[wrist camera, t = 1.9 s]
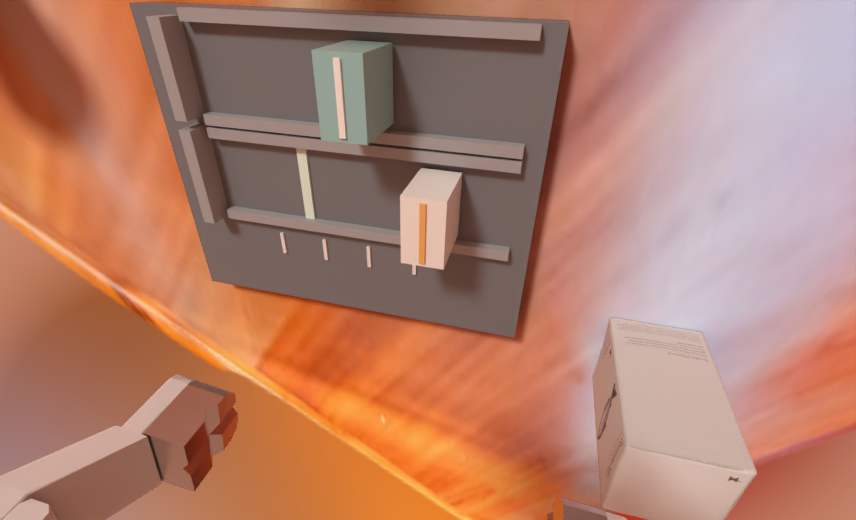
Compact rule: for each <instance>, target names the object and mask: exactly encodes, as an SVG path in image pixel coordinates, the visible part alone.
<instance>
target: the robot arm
mask: <svg viewBox="0 0 856 520" xmlns="http://www.w3.org/2000/svg"><path fill="white" fill-rule="evenodd" d="M235 402H236V398H235V393H233V392H230V391H227V390H224V389H220V388H217V387H214V386H211V385H208V384H205V383H202V382H199V381H197V380H194V379H191V378H188V377H184V376H181V375H178V374H177V375H175V376H173V377H171V378H170V379H168V380H167V381H166V382H165V383H164V385H162V386H161V388H159V389H158V391H157V392H156V393H155V394H154V395H153V396H152V397H151V398H150V399H149V400H148V401H147V402H146V403H145V404H144V405H143V406H142V407H141V408H140V409H139V410H138V411H137V412H136V413H135V414H134V415H133V416H132V417H131V418H130V419H129V420H128V421H127V422H126V423H125V424H124V425H123V426H122V427H120V426H113V427H111V428H109V429H106V430H104V431H102V432H100V433H98V434H95V435H93V436H91V437H88V438H86V439H84V440H81V441H79V442H77V443H75V444H72V445H70V446H68V447H65V448H63V449H61V450H59V451H56V452H54V453H52V454H50V455H47V456H45V457H43V458H40V459H38V460H36V461H34V462H31V463H29V464H27V465H24V466H22V467H20V468H18V469H15V470H13V471H11V472H8V473H6V474H4V475H2V476H0V520H106V519H107V518H109V517H110V516H112V515H113V514H115V513H117V512H118V511H120V510H121V509H123V508H124V507H126V506H127V505H129V504H131V503H132V502H134V501H135V500H137V499H138V498H140V497H142V496H143V495H145V494H146V493H148V492H149V491H151V490H152V489H154V488H155V487H157V486H159V485H160V484H161V483H162V482H161V481H163V482H166V483H169V484H172V485H175V486H179V487H182V488H185V489H188V490H191V491H195V490H196V488H197V487H198V486H199V485H200V483H201V482H202V480H203V479H204V478H205V476H206V475H207V473H208V472H209V471H210V469H211V468H212V465H213V456H214V455H216V454H218V453H219V452H221V451H223V450H224V449H225V448H226V447H227V445H228V444H229V442H230V441H231V439H232V437H233V435H234V432H235V430H236V428H237V423H238V413H237V412H236V411H235V409H234V408H233V405H234V404H235ZM544 520H627V519H626V518H625V517H623V516H619V515H616V514H613V513H610V512H606V511H603V510H602V509H598V508H595V507H592V506H588V505H585V504H582V503H578V502H575V501H572V500H568V499H565V498H562V497H559V498H557V499H556V501H555V502H554V504H553V512H552V513H549V514H547V515H546V517H545V519H544Z"/></svg>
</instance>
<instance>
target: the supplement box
mask: <svg viewBox="0 0 856 520" xmlns="http://www.w3.org/2000/svg"><path fill="white" fill-rule="evenodd" d="M593 391H594V408H595V423H596V438H597V451H598V463H599V477H600V491H601V507H602V508H603V509H606V510H610V511H614V512H618V513H622V514H626V515H630V516H635V517H639V518H643V519H647V520H724V519H725V518H726V516H727V515H728V513H729V512H730V511H731V509H732V508H733V507H734V506H735V504H736V503H737V501H738V499H739V497H740V496H741V495H742V493H743V492H744V491H745V489H746V488H747V486H748V485H749V484H750V482H751V481H752V479H753V478H754V477H755V476H756V474H757V471H756V469H755V466H754V463H753V461H752V458H751V456H750V453H749V450H748V448H747V445H746V443H745V440H744V438H743V435H742V433H741V430H740V427H739V425H738V422H737V420H736V417H735V414H734V412H733V409H732V407H731V404H730V401H729V399H728V396H727V394H726V391H725V388H724V386H723V383H722V381H721V378H720V376H719V373H718V371H717V368H716V365H715V363H714V360H713V358H712V355H711V352H710V350H709V347H708V345H707V342H706V340H705V337H704V334H703V332H699V331H693V330H688V329H681V328H675V327H669V326H663V325H657V324H651V323H645V322H638V321H632V320H626V319H619V318H610V319H609V323H608V328H607V332H606V336H605V340H604V343H603V347H602V350H601V353H600V356H599V360H598V363H597V366H596V368H595V371H594V374H593Z"/></svg>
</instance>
